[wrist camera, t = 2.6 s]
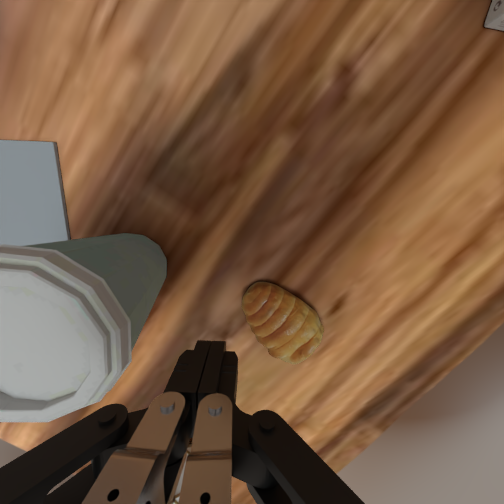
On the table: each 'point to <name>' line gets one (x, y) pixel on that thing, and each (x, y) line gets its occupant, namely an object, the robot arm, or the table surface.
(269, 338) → the pastry
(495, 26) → the supplement box
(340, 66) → the table surface
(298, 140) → the table surface
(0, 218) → the mat
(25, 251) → the disposable coffee cup
